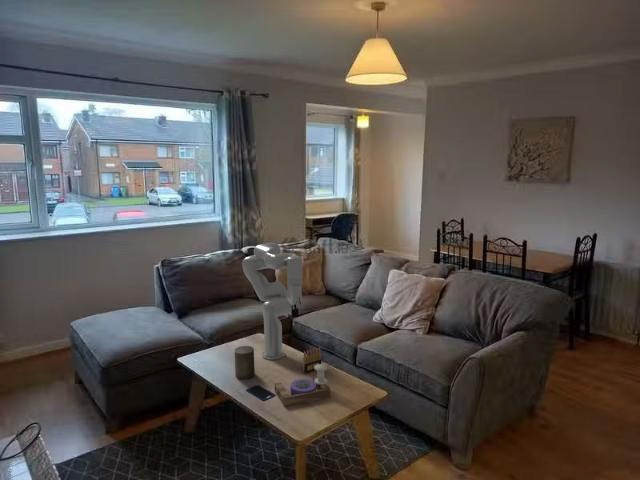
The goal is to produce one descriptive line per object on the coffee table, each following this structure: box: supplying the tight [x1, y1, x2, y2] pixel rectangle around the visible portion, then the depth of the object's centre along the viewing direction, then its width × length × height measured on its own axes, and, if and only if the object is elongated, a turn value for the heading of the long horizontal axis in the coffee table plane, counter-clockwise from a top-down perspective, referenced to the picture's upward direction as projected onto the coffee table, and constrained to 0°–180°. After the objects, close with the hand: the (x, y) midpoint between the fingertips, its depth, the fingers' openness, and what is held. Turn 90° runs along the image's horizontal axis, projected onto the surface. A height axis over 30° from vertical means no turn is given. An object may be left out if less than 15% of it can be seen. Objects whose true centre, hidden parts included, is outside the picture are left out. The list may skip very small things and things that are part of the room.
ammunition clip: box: [302, 346, 322, 375], centre depth 236 cm, size 11×2×12 cm, turn 125°
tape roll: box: [290, 378, 317, 396], centre depth 213 cm, size 12×12×5 cm
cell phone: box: [245, 384, 276, 402], centre depth 215 cm, size 7×14×1 cm, turn 45°
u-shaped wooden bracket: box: [274, 375, 331, 408], centre depth 213 cm, size 14×22×4 cm, turn 112°
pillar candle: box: [233, 345, 256, 380], centre depth 231 cm, size 10×10×15 cm
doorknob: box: [314, 363, 328, 385], centre depth 216 cm, size 6×6×8 cm
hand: (295, 316), depth 231 cm, fingers closed
